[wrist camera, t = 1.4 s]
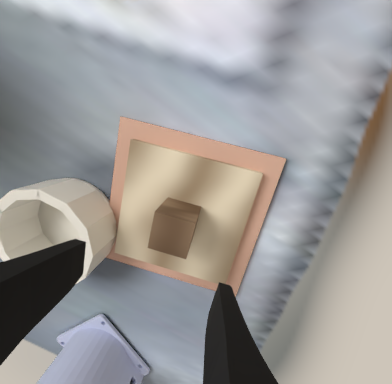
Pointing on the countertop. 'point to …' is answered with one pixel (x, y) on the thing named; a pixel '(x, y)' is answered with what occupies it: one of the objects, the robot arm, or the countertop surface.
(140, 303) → the countertop surface
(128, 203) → the lid
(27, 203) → the bowl
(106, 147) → the countertop surface
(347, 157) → the countertop surface
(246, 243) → the mat
